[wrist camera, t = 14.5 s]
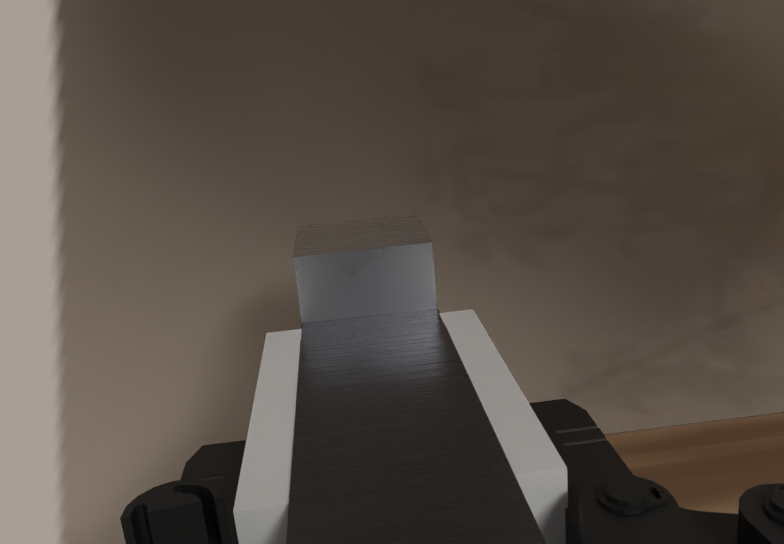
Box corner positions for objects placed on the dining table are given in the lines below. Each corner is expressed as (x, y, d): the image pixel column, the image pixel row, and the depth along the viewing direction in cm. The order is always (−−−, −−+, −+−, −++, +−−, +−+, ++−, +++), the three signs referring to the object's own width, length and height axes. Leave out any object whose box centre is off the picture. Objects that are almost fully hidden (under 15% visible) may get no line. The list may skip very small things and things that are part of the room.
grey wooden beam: (297, 227, 19) (239, 643, 5) (415, 214, 19) (639, 587, 6) (324, 439, 21) (331, 1156, 7) (432, 426, 21) (635, 1100, 7)
